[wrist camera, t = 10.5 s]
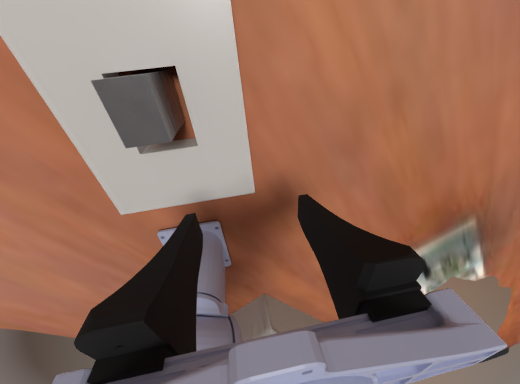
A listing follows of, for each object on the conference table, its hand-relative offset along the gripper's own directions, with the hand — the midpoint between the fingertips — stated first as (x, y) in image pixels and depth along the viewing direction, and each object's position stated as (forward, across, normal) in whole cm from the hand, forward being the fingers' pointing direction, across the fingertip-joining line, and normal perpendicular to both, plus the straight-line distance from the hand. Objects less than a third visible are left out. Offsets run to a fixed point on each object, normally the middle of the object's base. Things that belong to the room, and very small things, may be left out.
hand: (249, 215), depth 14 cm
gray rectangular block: (+10, +6, -7) cm, 13 cm away
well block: (+9, +6, -6) cm, 13 cm away
